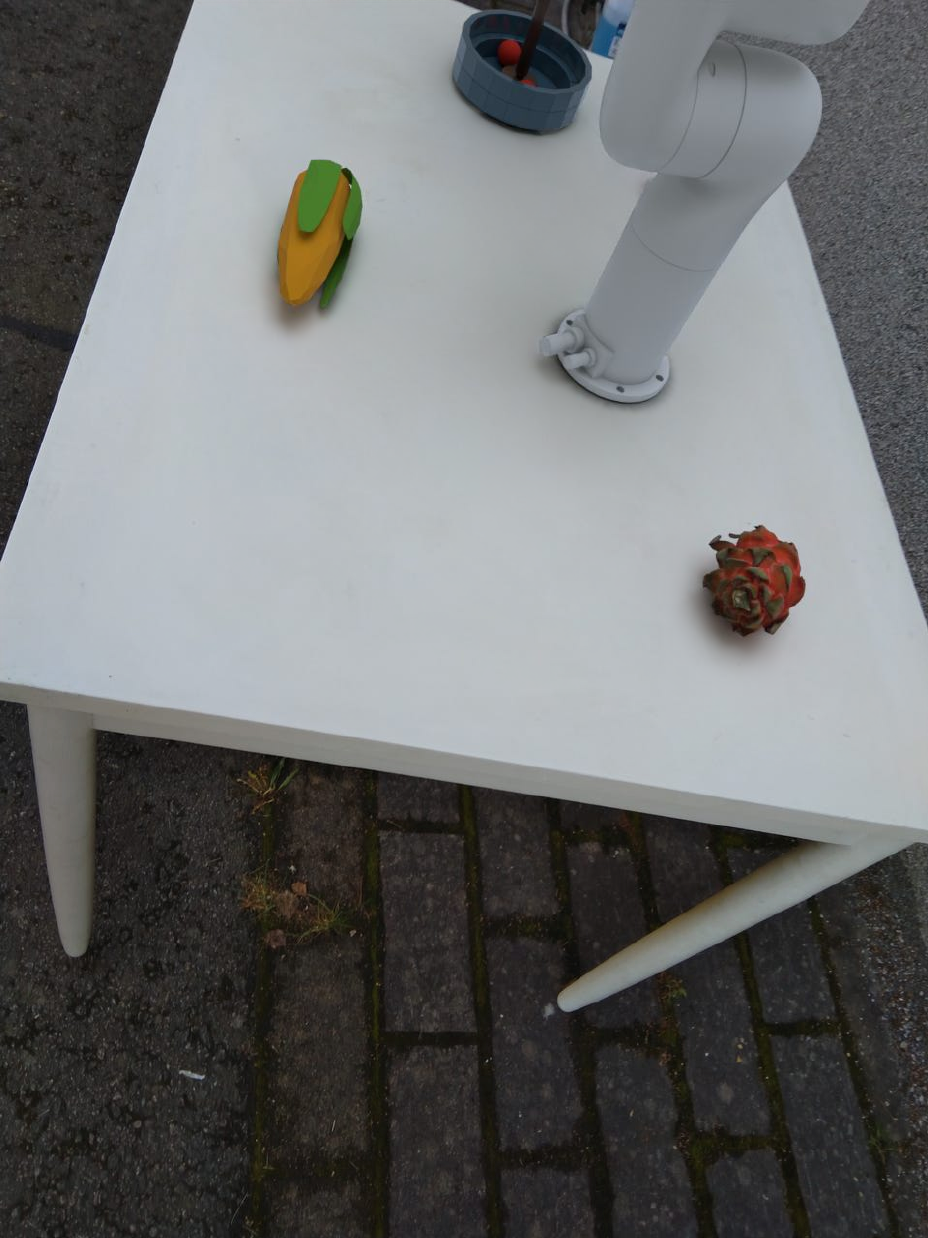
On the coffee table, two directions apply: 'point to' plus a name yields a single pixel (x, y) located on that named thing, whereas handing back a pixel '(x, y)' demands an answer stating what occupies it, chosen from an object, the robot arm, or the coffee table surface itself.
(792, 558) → the dragon fruit
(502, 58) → the tomato
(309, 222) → the corn
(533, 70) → the bowl
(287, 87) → the coffee table surface
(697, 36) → the robot arm
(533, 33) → the brown disc-base rod
